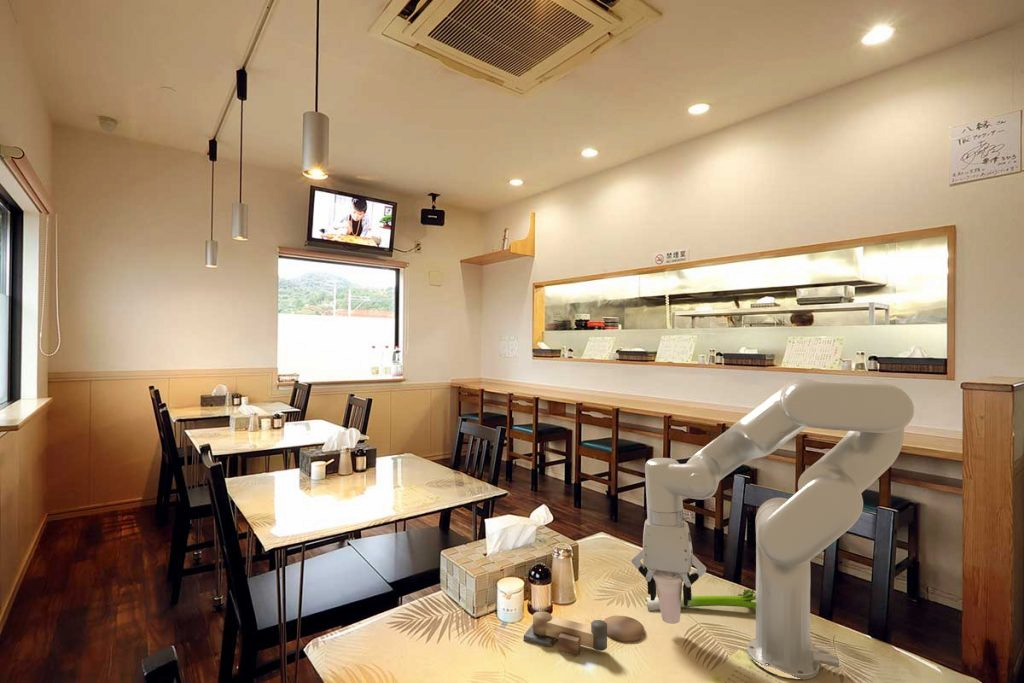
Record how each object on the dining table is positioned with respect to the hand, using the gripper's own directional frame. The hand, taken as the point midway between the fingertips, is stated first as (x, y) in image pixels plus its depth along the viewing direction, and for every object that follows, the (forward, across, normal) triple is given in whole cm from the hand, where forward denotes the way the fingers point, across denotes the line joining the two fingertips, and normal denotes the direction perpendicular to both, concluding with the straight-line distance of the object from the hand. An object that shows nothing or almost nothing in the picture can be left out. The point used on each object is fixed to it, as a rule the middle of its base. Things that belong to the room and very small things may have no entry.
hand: (669, 599), depth 111 cm
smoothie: (+4, 0, 0) cm, 4 cm away
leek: (+8, -7, -14) cm, 18 cm away
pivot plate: (+6, +25, +13) cm, 29 cm away
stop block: (+6, +18, +16) cm, 24 cm away
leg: (+5, +19, +13) cm, 23 cm away
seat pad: (+7, +10, +3) cm, 12 cm away
